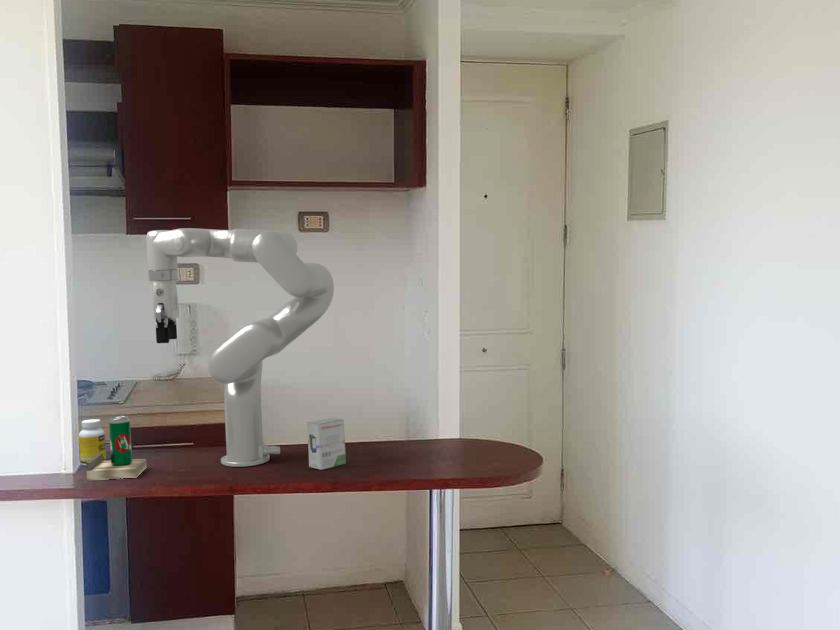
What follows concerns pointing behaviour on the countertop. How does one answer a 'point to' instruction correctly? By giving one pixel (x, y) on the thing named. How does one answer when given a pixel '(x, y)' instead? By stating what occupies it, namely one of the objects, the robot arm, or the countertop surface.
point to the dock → (113, 469)
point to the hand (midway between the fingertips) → (167, 341)
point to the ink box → (326, 443)
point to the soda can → (120, 441)
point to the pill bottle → (91, 440)
